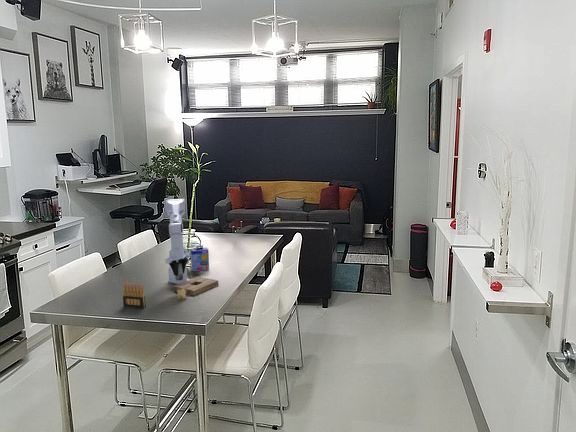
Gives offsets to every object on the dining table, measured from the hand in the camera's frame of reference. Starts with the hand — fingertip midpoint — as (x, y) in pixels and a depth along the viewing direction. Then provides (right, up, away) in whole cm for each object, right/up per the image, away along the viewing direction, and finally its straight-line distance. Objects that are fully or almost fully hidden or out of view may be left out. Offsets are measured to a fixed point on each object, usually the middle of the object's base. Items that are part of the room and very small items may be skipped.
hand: (179, 274), depth 228 cm
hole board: (+7, -8, +8) cm, 13 cm away
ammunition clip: (-17, -13, -16) cm, 27 cm away
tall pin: (0, -3, 0) cm, 3 cm away
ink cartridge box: (+3, -3, +40) cm, 41 cm away
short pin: (+3, -11, -8) cm, 13 cm away
